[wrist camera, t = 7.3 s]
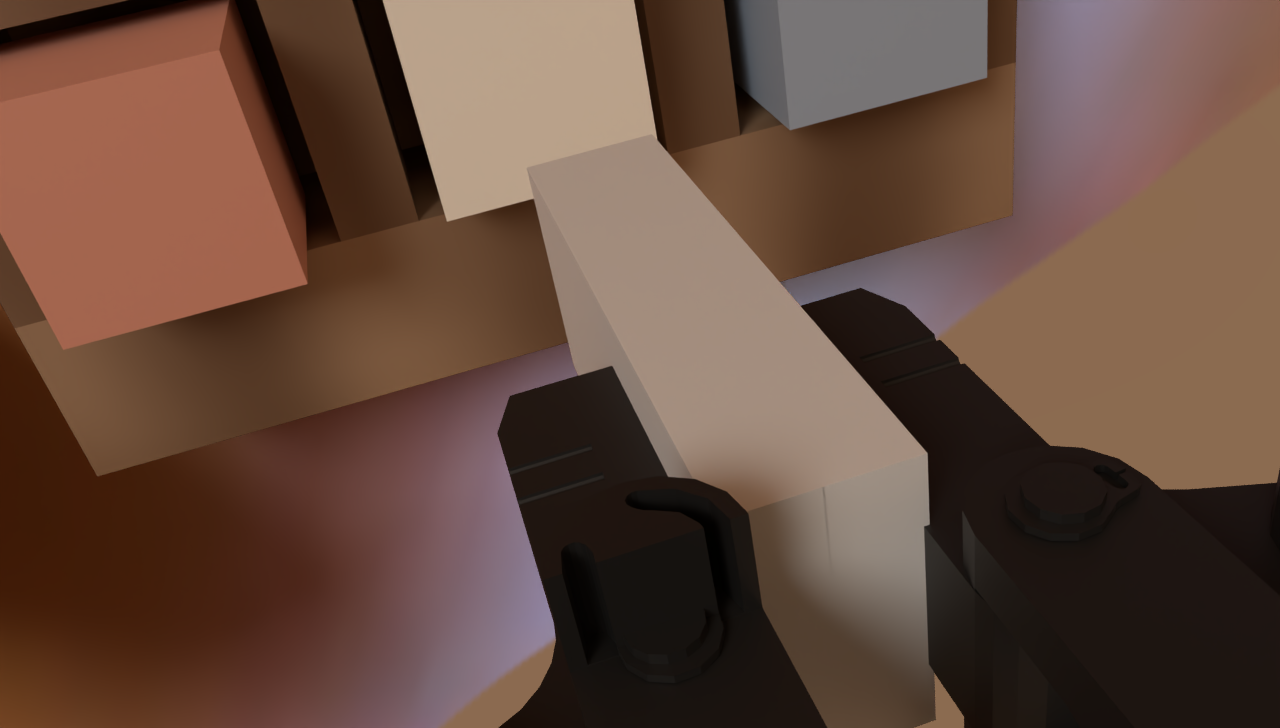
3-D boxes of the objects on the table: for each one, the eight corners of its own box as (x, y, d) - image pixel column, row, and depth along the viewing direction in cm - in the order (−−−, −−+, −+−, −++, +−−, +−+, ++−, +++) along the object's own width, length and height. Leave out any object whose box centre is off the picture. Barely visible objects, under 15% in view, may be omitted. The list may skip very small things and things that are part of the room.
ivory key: (424, 146, 23) (446, 221, 20) (367, -53, 21) (381, -5, 18) (609, 98, 24) (661, 164, 20) (572, -100, 21) (623, -63, 18)
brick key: (98, 248, 21) (63, 349, 18) (-2, 44, 19) (-63, 117, 16) (305, 195, 22) (307, 284, 19) (231, -10, 20) (219, 49, 16)
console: (128, 353, 26) (97, 476, 22) (-153, -208, 20) (-272, -183, 16) (909, 140, 29) (1012, 215, 25) (889, -418, 22) (1025, -443, 18)
